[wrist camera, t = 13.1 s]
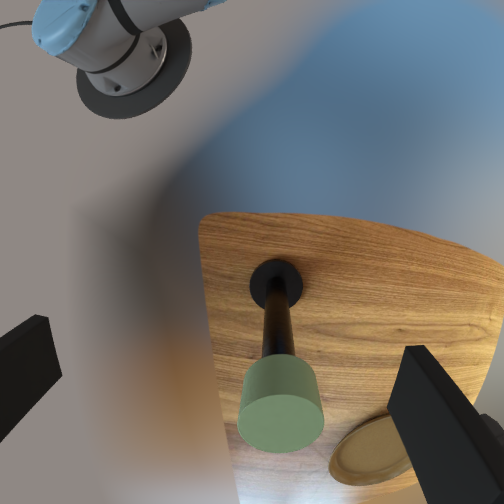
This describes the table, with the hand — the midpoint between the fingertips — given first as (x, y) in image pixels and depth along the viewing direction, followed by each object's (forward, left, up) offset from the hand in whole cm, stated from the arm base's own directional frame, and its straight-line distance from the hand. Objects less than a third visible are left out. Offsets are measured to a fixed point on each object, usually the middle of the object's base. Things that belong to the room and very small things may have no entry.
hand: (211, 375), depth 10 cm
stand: (+8, -4, -38) cm, 39 cm away
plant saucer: (+52, -11, -38) cm, 65 cm away
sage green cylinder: (+8, -4, -12) cm, 15 cm away
